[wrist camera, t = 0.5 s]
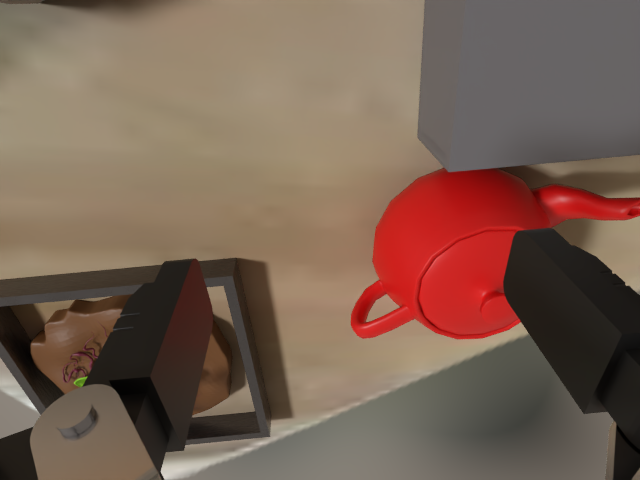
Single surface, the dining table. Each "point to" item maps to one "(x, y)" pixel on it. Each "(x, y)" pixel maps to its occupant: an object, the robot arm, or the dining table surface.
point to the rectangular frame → (15, 346)
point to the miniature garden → (90, 336)
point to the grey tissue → (20, 1)
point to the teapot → (464, 248)
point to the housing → (529, 81)
